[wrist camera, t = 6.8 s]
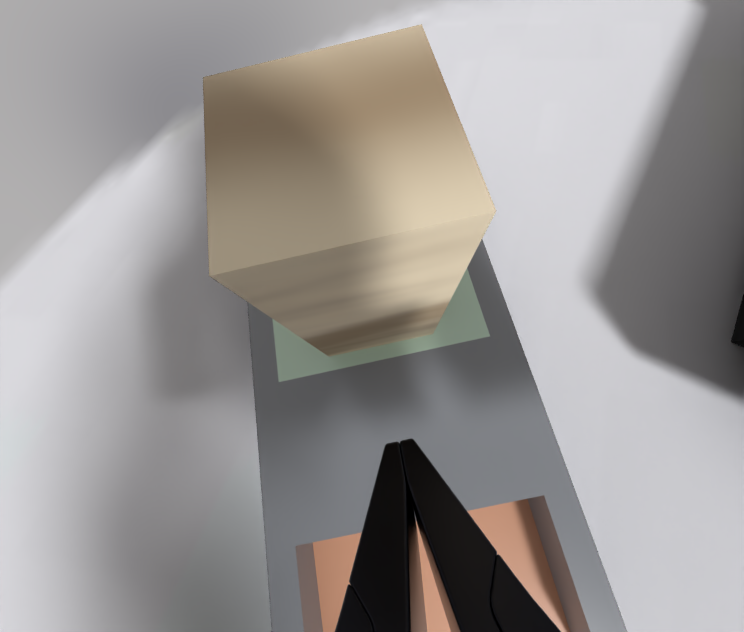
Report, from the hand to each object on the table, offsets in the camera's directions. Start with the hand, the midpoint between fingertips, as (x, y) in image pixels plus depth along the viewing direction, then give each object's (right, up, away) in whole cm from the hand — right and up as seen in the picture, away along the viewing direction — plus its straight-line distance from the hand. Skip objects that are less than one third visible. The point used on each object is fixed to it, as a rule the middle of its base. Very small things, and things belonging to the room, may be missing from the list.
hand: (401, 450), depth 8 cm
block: (-1, +5, +6) cm, 8 cm away
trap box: (0, +2, +8) cm, 8 cm away
